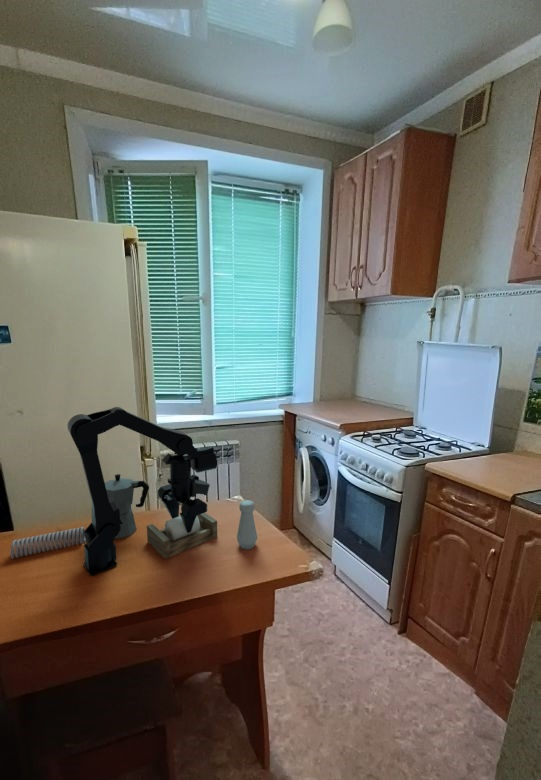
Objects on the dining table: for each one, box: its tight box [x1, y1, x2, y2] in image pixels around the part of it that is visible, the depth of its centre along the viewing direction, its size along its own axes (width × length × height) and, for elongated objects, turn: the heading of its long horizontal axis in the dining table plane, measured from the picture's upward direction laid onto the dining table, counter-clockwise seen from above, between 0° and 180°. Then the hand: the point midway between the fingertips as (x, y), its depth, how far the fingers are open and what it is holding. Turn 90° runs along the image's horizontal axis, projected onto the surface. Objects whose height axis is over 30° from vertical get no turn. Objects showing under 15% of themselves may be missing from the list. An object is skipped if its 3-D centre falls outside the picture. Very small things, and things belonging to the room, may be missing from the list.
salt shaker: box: [236, 499, 258, 550], centre depth 102 cm, size 6×6×13 cm
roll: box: [164, 515, 200, 542], centre depth 106 cm, size 8×6×6 cm
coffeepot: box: [105, 473, 150, 540], centre depth 110 cm, size 15×9×18 cm, turn 98°
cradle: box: [146, 512, 218, 560], centre depth 106 cm, size 17×11×5 cm, turn 132°
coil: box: [9, 526, 87, 560], centre depth 101 cm, size 5×5×18 cm
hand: (182, 527), depth 106 cm, fingers open, 7 cm apart
